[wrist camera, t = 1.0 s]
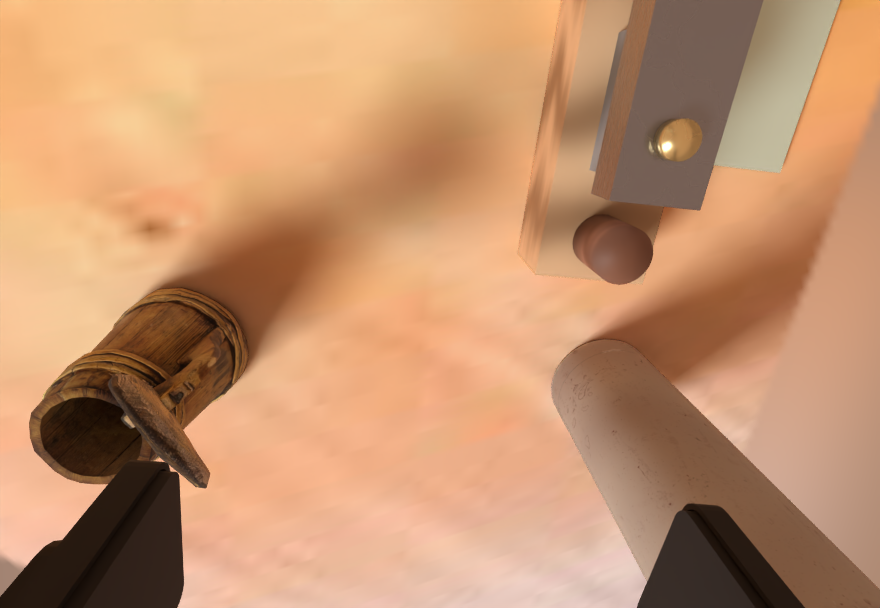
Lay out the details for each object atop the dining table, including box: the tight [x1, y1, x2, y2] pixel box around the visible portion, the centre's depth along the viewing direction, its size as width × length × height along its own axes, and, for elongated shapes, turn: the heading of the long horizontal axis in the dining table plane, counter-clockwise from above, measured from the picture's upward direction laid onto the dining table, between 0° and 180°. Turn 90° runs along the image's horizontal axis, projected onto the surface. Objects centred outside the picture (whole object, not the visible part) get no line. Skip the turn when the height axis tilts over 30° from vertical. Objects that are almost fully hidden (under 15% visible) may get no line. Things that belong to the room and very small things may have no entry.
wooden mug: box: [29, 288, 248, 488], centre depth 26 cm, size 9×14×18 cm, turn 116°
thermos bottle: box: [551, 339, 880, 608], centre depth 25 cm, size 8×8×28 cm
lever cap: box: [591, 0, 763, 210], centre depth 22 cm, size 9×5×3 cm, turn 174°
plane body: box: [518, 0, 664, 285], centre depth 26 cm, size 20×7×11 cm, turn 174°
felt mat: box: [714, 0, 840, 173], centre depth 31 cm, size 11×7×1 cm, turn 174°
